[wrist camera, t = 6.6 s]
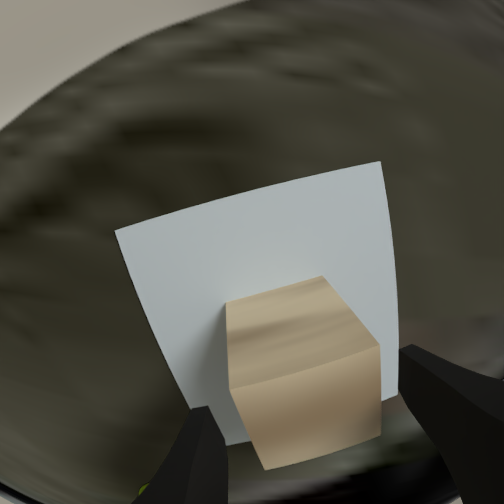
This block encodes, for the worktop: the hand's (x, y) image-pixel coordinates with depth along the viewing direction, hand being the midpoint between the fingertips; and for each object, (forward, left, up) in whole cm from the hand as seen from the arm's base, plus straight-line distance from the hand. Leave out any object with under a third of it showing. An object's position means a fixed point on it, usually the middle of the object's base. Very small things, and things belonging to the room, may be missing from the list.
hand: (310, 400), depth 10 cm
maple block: (0, 0, -5) cm, 5 cm away
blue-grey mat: (0, 0, -5) cm, 5 cm away
